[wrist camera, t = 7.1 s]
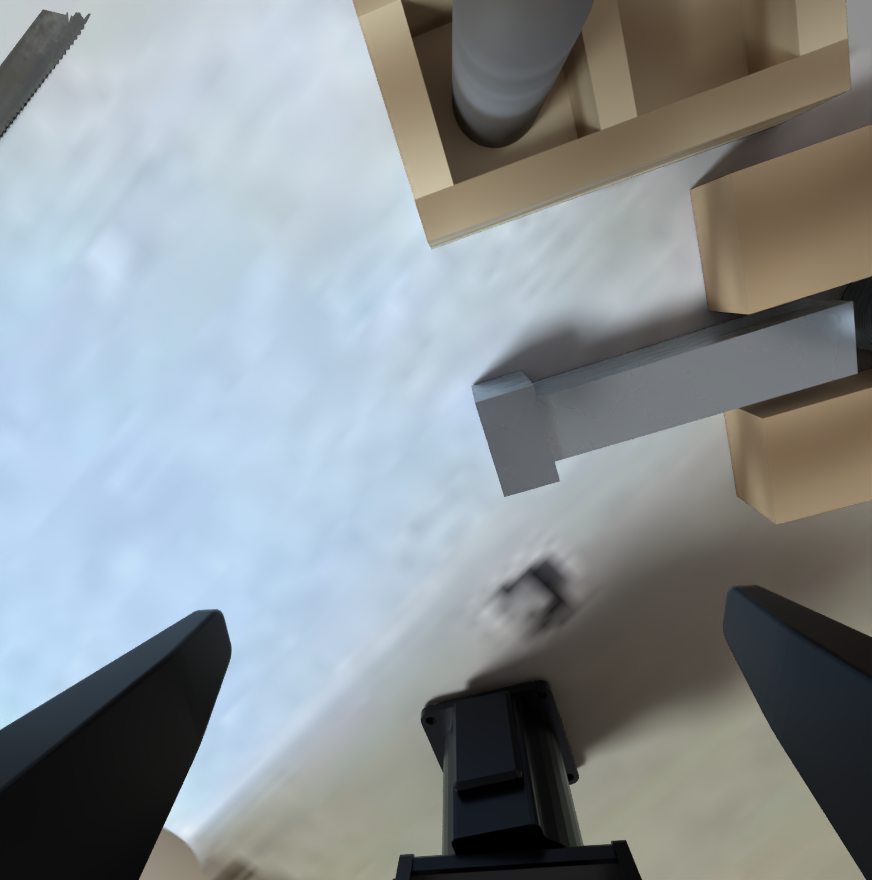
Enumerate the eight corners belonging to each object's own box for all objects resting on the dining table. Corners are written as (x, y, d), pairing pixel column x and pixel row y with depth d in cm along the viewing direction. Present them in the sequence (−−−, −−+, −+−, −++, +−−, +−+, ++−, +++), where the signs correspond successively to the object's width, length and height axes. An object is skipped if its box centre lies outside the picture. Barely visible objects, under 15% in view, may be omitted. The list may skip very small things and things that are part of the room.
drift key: (807, 377, 18) (868, 393, 15) (497, 467, 20) (504, 496, 17) (798, 282, 17) (862, 282, 14) (471, 385, 19) (474, 402, 16)
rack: (777, 125, 16) (1009, 12, 9) (431, 249, 17) (419, 226, 11) (751, -143, 14) (1023, -529, 7) (361, 23, 15) (294, -172, 9)
